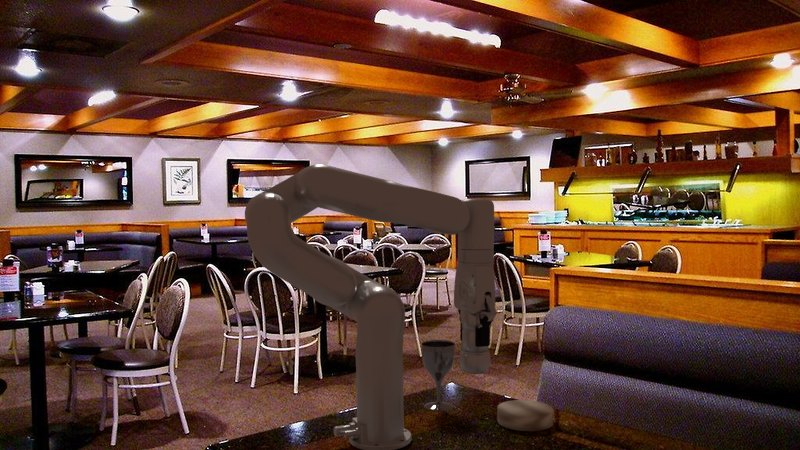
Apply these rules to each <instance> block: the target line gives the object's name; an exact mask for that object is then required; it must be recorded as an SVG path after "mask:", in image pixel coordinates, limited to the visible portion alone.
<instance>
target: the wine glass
mask: <svg viewBox="0 0 800 450" xmlns="http://www.w3.org/2000/svg"><path fill="white" fill-rule="evenodd" d="M420 349H421V359H422V363H423V366H424V369H425V370H426V372H428V374H429V375H430V376H431V378H433V381H434V382H435V388H436V401H431V402H427V403H425V404H424V405H423V408H424V409H426V410H428V411H433V412H446V411H451V410H453V409H454V408H455V406H454V405H453V404H452V403H450V402H446V401H441V400H442V399H441V389H442V383H443V380H444V378H445V377H446V376H447V375H448V374H449V372H450V371H451V370H452V368H453V365H454V362H455V358H456V357H455V356H456V343H455V342H454V341H451V340H445V339H444V340H443V339H431V340H426V341H423V342H421V348H420Z"/></svg>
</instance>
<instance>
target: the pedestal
mask: <svg viewBox="0 0 800 450" xmlns="http://www.w3.org/2000/svg"><path fill="white" fill-rule="evenodd" d="M496 409H497V423H498V424H499V425H500V426H502V427H504V428H506V429H510V430H514V431H519V432H539V431H545V430H548V429H550V428H551V427H553V426H554V408H553V407H552V406H551V405H549V404H547V403H544V402H541V401H536V400H531V399H530V400H527V399H515V400H507V401H503V402H500V403H499V404H498V405H497V408H496Z"/></svg>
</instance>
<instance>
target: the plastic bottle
mask: <svg viewBox="0 0 800 450" xmlns="http://www.w3.org/2000/svg"><path fill="white" fill-rule="evenodd" d="M460 308H461V309H460V311H461V319H462V341H461V345H460V352H459V358H458V364H459V368H460V370H461V371H462V372H464V373H466V374H471V375H480V374H481V375H482V374H486V373H488V371H490V368H491V367H490V366H491V361H492V360H491V356H490V355H491V354H490V350H489V346H484V347H476V346H475V327H477V321H476V314H472V313H469V312H468V311H466V310H467V304H466V301H465V300H464V298H463V299H462V300H461V302H460ZM480 312H487V309H486V307H485V306H483V308H482V310H481V311H480ZM484 316H486V315H481V320H482V319H483V317H484Z"/></svg>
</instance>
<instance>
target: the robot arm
mask: <svg viewBox="0 0 800 450" xmlns="http://www.w3.org/2000/svg"><path fill="white" fill-rule="evenodd" d="M318 208H319V209H323V210H327V211H332V212H335V213H336V212H337V213H341V214H345V215H348V216H349V215H350V216H354V217H358V218H362V219H366V220H369V221H376V222H378V223H379V222H381V223H391V224H393V223H394V224H399V225H400V224H401V225H405V226H411V227H416V228H420V229H424V230H427V231H429V232H431V233H434V234H440V235H441V234H443V235H446V236H452V235H453V236H455V235H457V264H456V270H455V276H454V286H453V287H454V288H453V306H454V308H456V309H457V312H458V314H459V322H460V328H459V329H460V330H459V332H460V335H459V336H460V338H459V340H460V341H461V342H462V319H461V311H460V309H461V308H460V302H461V300H462V299H463V298H464V300H465V301H466V304H467V310H466V311H468V312H469V313H472V314H476V321H477V327H475V346H476V347H484V346H488V347H489V346H490V345H491V327H492V323H493V321H494V318H495V317H496V316H497V309H496V281H495V271H494V264H495V262H494V260H495V254H494V253H495V249H494V248H495V247H494V245H495V204H494V202H493V200H491V199H488V198H463V199H460V198H458V197H455V196H451V195H448V194H444V193H440V192H435V191H433V190H428V189H424V188H421V187H420V188H419V187H415V186H410V185H406V184H403V183H400V182H395V181H391V180H387V179H383V178H381V177H377V176H376V177H375V176H371V175H367V174H364V173H359V172H355V171H353V170H348V169H344V168H339V167H337V166H336V167H335V166H331V165H328V164H322V163H317V164H311V165H309V166H306V167H305V168H303V169H301V170H299V171H298V172H296V173H295V174H292V175H291V176H290V177H288V178H286V179H284V180H283V181H281V182H278V183H277V184H275V185H273V186H271V187H270V188H268V189H266V190H264V191H262V192H260V193H258V194H256V195H255V196H253V197H252V198H251V199H249V201H248V203H247V204H246V206H245V209H244V220H245V222H246V234H247V236H246V237H247V240H248V241H247V242H248V243H249V247H250V250H251V252H252V254H253V256H254V257H255V259H257V261H258V263H260V265H261V266H263V267H264V269H266V270H267V271H268V272H270V273H272V274H274V276H276V277H278V278H279V279H281V280H283V281H285V282H286V283H288V284H290V285H291V286H293V287H295V288H296V289H298V290H300V291H301V292H303V293H305V294H307V295H309V296H310V297H312V298H313V299H314V300H315V301H316V302H318V303H319V304H321V305H324V306H327V307H330V308H331V309H334V310H335V311H337V312H338V313H340V314H342V315H344V316H346V317H347V318H350V319H351V320H353V321H354V322H356V341H355V377H356V378H355V380H356V381H355V384H356V387H355V389H356V393H355V394H356V417H352V422H349V423H348V424H346V425H344V424H343V425H337V426H336V425H335V426H334V427H333V435H334V437H341V436H343V438H344V439H348V438H349V443H350V445H352V446H353V447H354V448H357V449H359V450H398V449H402V448H404V447H407V446H408V445H409V444H410V443H411V441H412V433H411V431H409V430H408V429H406V428H405V425H404V421H405V420H404V417H405V415H404V359H403V356H404V355H403V353H404V352H403V351H404V348H403V347H404V334H405V324H406V309H405V306H404V302H403V300H402V299H401V297H400V295H399V294H398V292H396V291H395V290H394V289H393V288H391V287H388V286H387V285H385V284H381V283H380V282H378V281H376V280H374V279H372V278H371V277H368V276H367V275H365V274H363V273H362V272H360V271H358V270H357V269H355V268H353V267H351V266H350V265H348V264H347V263H345V261H343V260H341V259H338V258H337V257H334V256H330V255H328V254H326V253H324V252H322V250H319V249H318V248H316V247H314V246H312V245H311V244H310V243H308V242H306V241H305V240H303V239H301V238H300V237H299V236H297V234H296V233H295V232H294V230H293V228H292V225H291V223H294V222H296V221H297V220H299V219H300V218H303V217H304V216H306V215H308V214H309V213H311V212H313V211H314V210H317V209H318ZM483 306H485V307H486V309H487V312H480V311H481V310H482V308H483ZM481 315H486V316H484V317H483V319H482V320H481Z"/></svg>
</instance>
